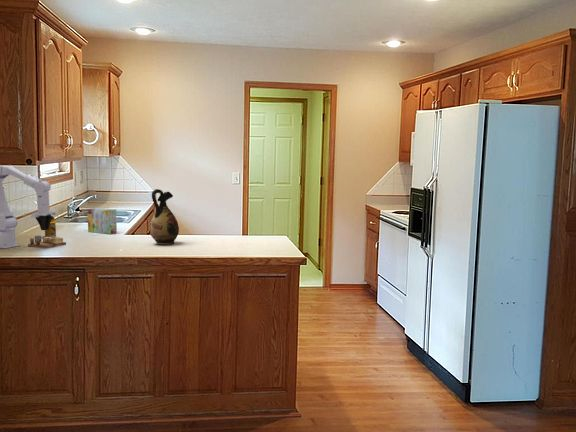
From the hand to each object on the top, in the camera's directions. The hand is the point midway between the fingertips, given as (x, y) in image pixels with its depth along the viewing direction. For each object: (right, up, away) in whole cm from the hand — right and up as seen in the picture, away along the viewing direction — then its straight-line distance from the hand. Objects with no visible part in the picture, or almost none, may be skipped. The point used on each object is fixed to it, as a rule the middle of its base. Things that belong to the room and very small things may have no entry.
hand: (44, 229), depth 300 cm
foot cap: (-11, -8, +16) cm, 21 cm away
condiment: (-13, -6, +36) cm, 39 cm away
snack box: (+13, -3, +54) cm, 56 cm away
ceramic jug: (+60, -8, +11) cm, 62 cm away
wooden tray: (-2, -9, +8) cm, 12 cm away
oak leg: (0, -7, +9) cm, 11 cm away
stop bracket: (-5, -7, +20) cm, 22 cm away
